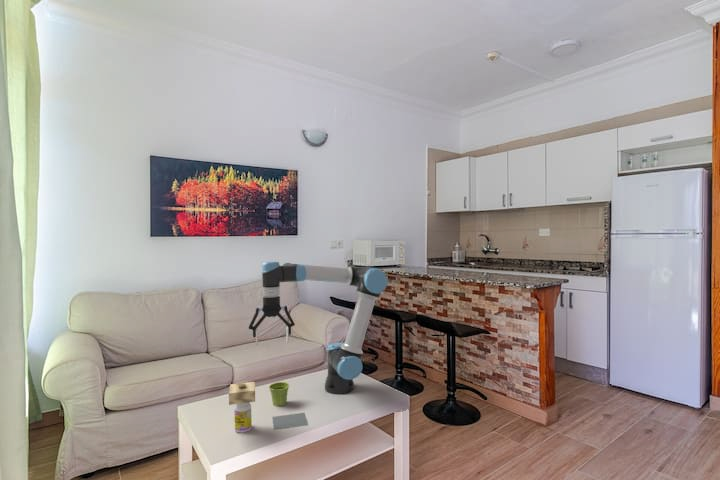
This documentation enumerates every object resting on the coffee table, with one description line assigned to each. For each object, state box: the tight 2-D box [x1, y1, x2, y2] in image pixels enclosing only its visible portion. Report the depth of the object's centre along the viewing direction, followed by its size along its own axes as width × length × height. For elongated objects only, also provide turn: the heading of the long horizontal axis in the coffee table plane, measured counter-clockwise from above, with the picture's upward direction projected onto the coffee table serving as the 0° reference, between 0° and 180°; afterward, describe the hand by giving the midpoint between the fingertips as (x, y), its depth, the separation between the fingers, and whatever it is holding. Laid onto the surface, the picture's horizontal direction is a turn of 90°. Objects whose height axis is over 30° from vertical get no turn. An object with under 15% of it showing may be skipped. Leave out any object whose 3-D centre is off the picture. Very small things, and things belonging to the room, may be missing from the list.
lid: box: [228, 381, 256, 406], centre depth 162 cm, size 10×10×5 cm
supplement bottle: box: [234, 402, 253, 433], centre depth 162 cm, size 7×7×13 cm
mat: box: [271, 412, 309, 431], centre depth 168 cm, size 14×12×1 cm
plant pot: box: [268, 381, 290, 407], centre depth 186 cm, size 9×9×9 cm
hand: (272, 342), depth 179 cm, fingers open, 13 cm apart
